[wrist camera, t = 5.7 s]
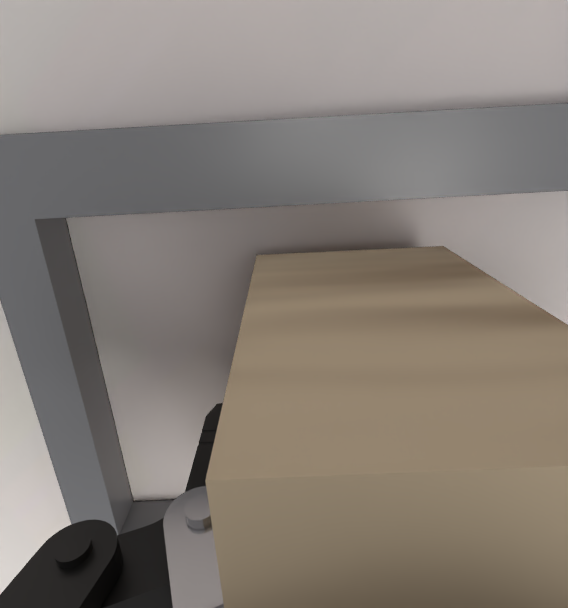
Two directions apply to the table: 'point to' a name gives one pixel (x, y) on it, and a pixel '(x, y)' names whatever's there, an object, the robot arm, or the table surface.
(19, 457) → the table surface
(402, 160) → the rail bay
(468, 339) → the wooden block
